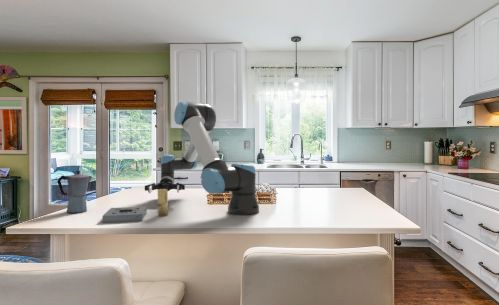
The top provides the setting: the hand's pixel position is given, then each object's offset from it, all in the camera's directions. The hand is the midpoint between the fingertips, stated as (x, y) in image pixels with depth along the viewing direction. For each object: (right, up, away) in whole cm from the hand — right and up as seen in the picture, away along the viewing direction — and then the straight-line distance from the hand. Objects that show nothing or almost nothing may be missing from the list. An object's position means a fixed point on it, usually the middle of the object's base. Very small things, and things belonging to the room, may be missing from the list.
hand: (163, 190), depth 158 cm
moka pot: (-42, -10, -3) cm, 43 cm away
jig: (-13, -11, -14) cm, 22 cm away
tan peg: (+2, -10, -10) cm, 15 cm away
